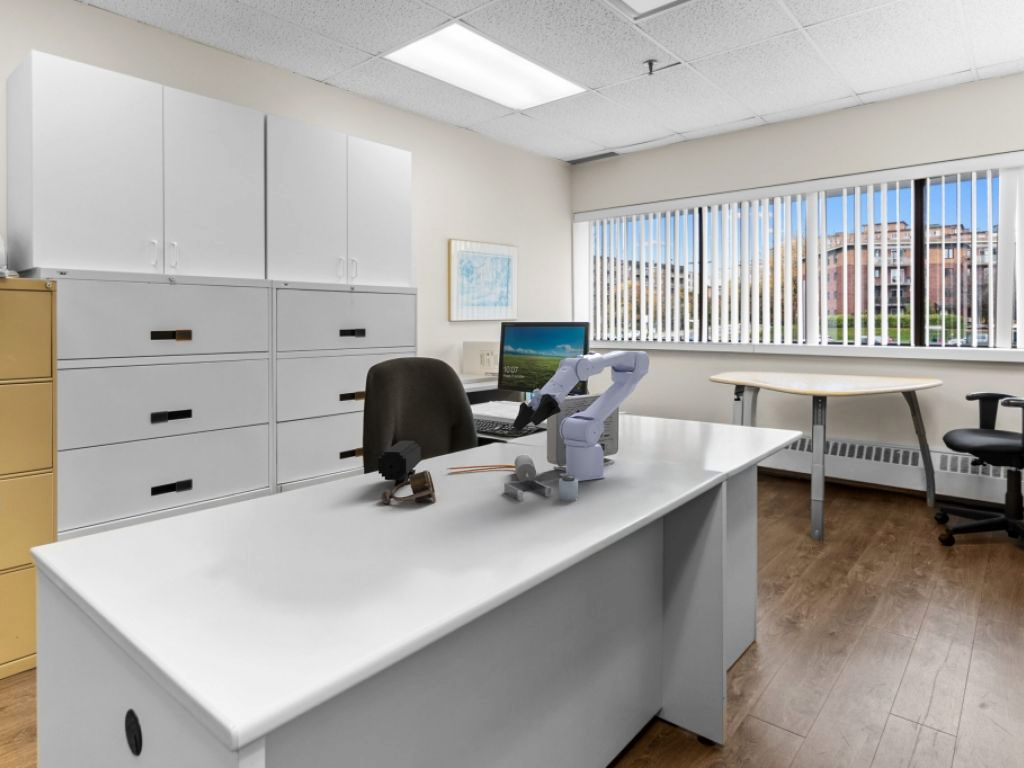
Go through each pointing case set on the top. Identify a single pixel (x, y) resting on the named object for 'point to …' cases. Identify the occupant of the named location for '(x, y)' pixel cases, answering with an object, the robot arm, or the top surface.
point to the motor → (522, 466)
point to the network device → (568, 408)
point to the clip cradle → (525, 488)
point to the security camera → (399, 461)
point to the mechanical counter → (413, 489)
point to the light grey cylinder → (568, 488)
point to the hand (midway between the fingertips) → (524, 425)
